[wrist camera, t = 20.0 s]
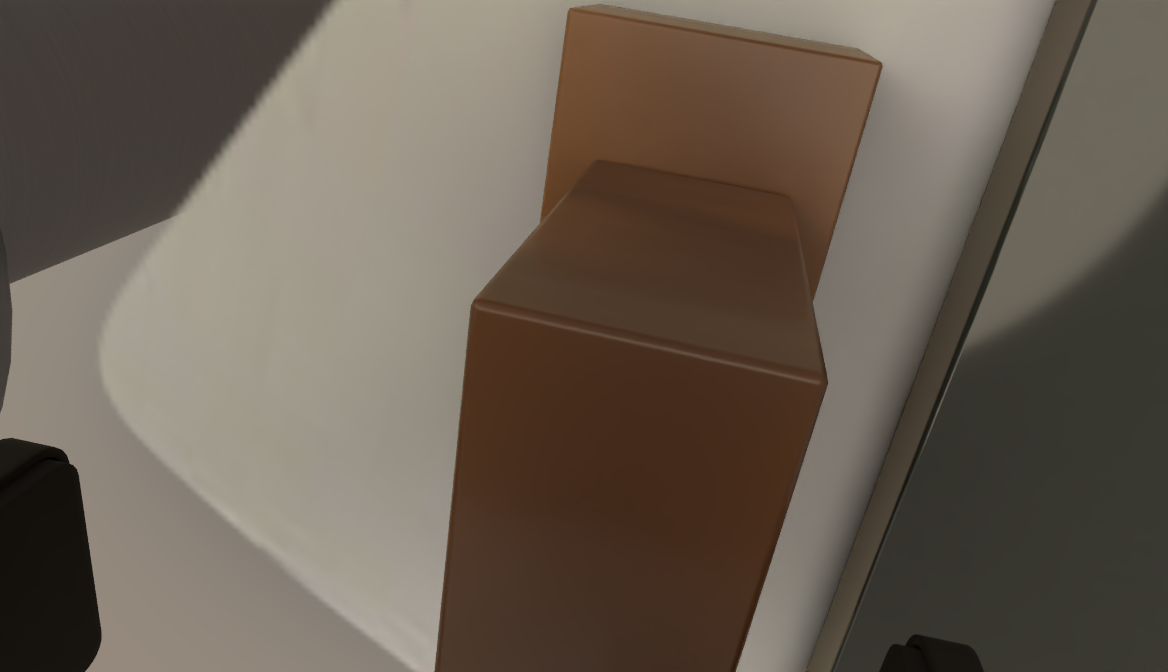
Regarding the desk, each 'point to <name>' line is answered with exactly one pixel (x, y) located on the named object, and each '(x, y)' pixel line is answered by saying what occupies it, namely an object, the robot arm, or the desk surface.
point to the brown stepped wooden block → (650, 351)
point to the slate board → (1040, 390)
